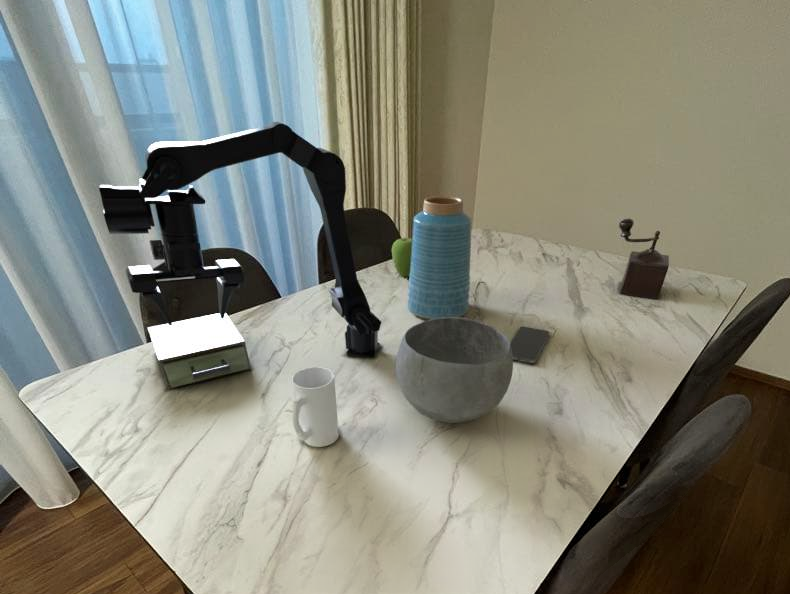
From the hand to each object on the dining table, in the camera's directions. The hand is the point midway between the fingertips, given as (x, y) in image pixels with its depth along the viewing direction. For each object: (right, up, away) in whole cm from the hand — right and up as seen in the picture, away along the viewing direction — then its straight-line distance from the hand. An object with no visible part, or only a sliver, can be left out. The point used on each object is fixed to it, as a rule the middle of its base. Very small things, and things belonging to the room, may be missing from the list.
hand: (196, 321), depth 88 cm
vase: (+48, +13, +38) cm, 62 cm away
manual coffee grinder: (+106, +23, +51) cm, 119 cm away
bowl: (+48, -17, +2) cm, 51 cm away
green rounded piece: (+39, +29, +58) cm, 76 cm away
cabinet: (-5, -5, +15) cm, 17 cm away
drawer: (-3, -6, +12) cm, 14 cm away
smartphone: (+68, 0, +22) cm, 71 cm away
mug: (+24, -23, -6) cm, 33 cm away
